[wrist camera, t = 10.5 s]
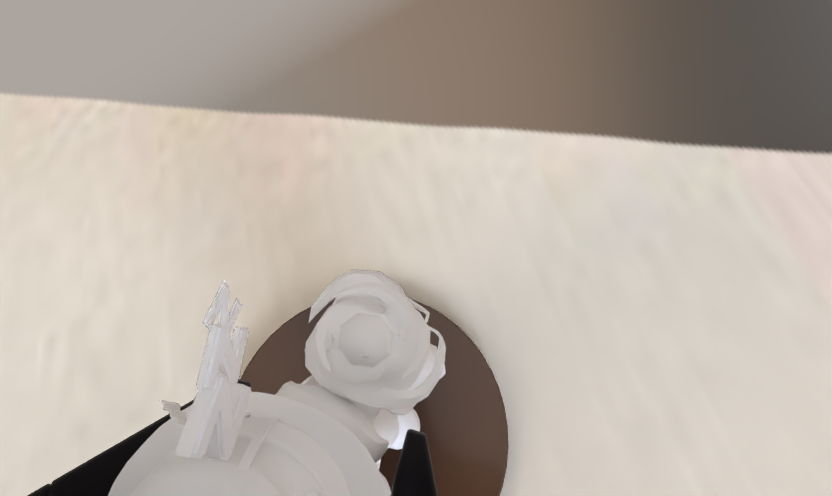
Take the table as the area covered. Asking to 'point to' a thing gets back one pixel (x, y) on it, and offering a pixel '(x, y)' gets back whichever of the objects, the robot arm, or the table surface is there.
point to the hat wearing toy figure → (299, 404)
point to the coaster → (419, 404)
